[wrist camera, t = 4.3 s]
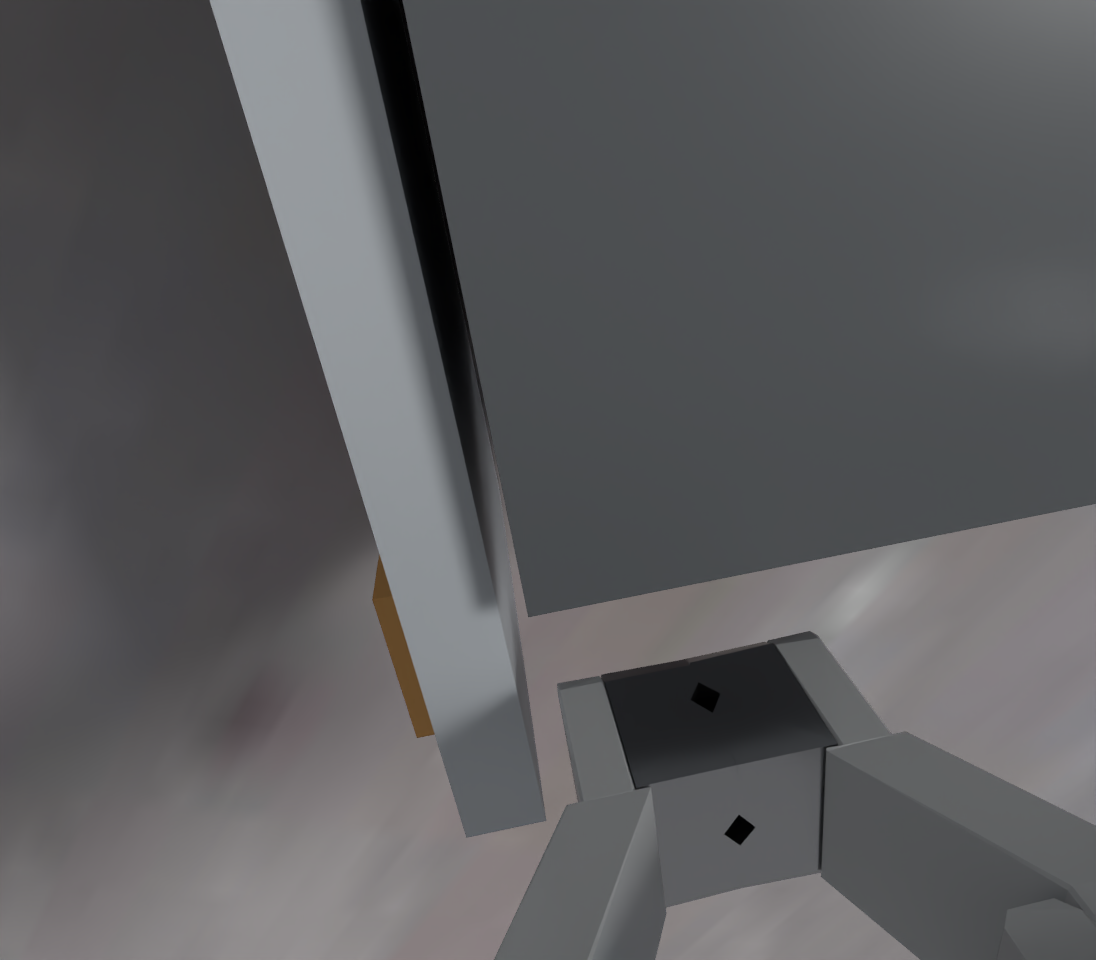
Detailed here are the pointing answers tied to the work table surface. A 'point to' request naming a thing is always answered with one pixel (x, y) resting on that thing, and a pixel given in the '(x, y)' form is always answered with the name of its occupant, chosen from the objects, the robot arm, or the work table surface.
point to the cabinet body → (768, 272)
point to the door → (395, 372)
